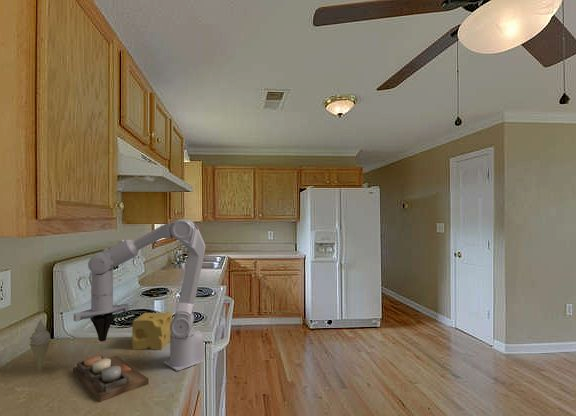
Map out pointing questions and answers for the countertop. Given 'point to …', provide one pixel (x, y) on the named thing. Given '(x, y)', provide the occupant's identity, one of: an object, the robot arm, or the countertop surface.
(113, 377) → the slate button
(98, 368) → the cream button
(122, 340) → the countertop surface
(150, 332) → the cheese
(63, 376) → the countertop surface
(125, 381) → the button panel
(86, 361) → the terracotta button
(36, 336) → the ice cream cone
